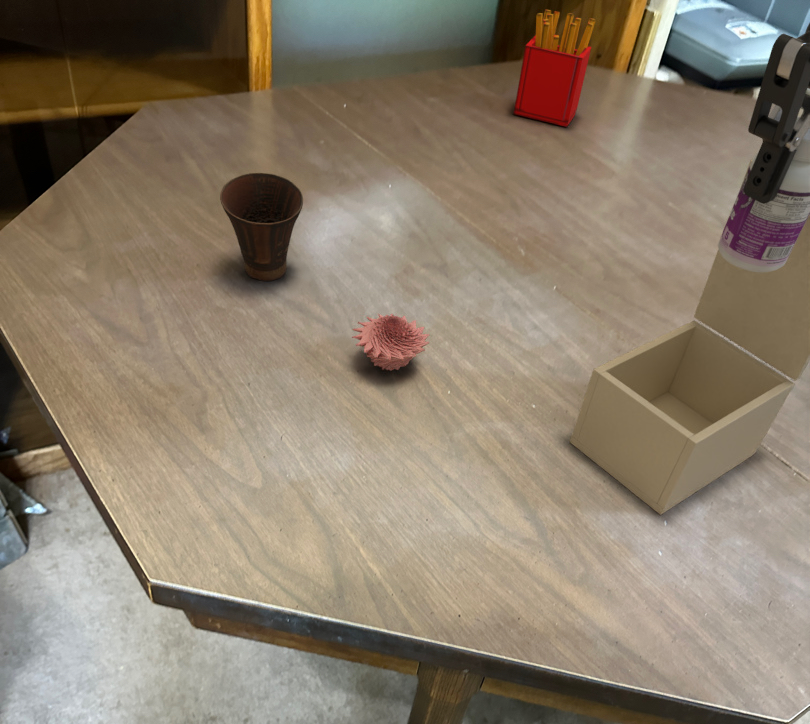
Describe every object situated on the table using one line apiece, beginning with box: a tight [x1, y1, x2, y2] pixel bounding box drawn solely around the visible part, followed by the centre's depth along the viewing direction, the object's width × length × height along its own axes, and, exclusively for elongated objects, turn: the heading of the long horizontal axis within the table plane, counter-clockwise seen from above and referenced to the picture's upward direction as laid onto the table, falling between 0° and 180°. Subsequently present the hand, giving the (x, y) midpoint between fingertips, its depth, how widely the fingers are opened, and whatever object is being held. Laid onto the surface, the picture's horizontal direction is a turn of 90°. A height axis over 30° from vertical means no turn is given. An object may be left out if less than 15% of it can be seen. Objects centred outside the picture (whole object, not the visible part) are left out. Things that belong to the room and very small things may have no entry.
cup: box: [219, 172, 304, 282], centre depth 86 cm, size 9×9×10 cm
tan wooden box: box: [569, 320, 796, 516], centre depth 72 cm, size 15×12×9 cm
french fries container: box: [513, 9, 597, 128], centre depth 123 cm, size 7×9×14 cm
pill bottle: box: [717, 116, 810, 273], centre depth 57 cm, size 5×5×10 cm
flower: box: [351, 313, 430, 372], centre depth 79 cm, size 8×8×6 cm
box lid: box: [693, 158, 810, 382], centre depth 67 cm, size 15×12×6 cm
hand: (781, 187), depth 56 cm, fingers closed on pill bottle, 5 cm apart
